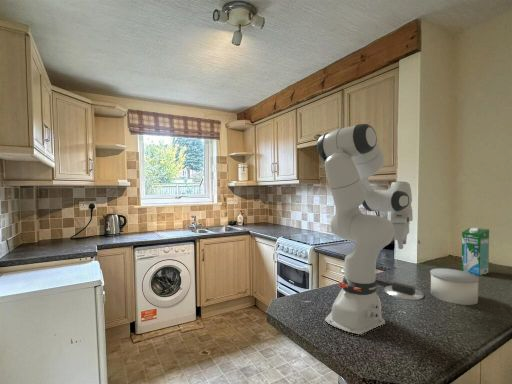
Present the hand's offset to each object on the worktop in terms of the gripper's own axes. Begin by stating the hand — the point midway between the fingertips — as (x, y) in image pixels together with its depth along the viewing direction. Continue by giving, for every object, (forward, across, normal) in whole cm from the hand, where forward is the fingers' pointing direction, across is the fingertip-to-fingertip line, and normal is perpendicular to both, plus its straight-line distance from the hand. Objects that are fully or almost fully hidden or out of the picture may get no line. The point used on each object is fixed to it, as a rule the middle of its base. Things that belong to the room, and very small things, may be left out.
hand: (402, 246), depth 126 cm
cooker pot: (+22, -7, +19) cm, 30 cm away
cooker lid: (+22, +1, 0) cm, 22 cm away
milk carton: (+25, -56, +28) cm, 67 cm away
